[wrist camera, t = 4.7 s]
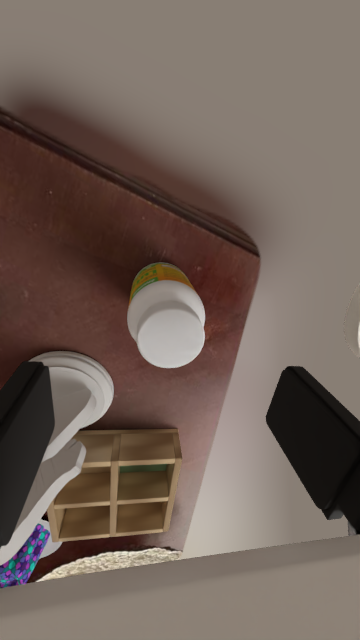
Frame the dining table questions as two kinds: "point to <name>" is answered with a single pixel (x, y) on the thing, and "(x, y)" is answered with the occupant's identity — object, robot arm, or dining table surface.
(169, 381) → the dining table surface
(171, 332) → the supplement bottle
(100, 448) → the grid
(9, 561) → the pudding
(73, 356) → the chess piece
